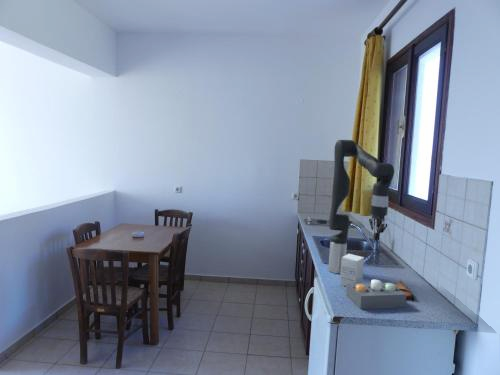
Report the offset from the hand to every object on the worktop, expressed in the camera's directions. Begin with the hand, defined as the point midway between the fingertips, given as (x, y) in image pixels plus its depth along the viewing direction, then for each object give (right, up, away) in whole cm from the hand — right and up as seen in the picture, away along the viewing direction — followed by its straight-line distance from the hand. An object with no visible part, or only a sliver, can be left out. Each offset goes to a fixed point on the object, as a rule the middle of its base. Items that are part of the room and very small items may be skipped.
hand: (376, 240), depth 168 cm
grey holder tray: (-3, -28, -5) cm, 28 cm away
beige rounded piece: (-10, -25, -7) cm, 28 cm away
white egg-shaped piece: (-3, -24, -6) cm, 24 cm away
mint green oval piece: (+5, -26, -4) cm, 26 cm away
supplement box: (-8, -26, +14) cm, 30 cm away
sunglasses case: (+14, -28, +6) cm, 32 cm away
